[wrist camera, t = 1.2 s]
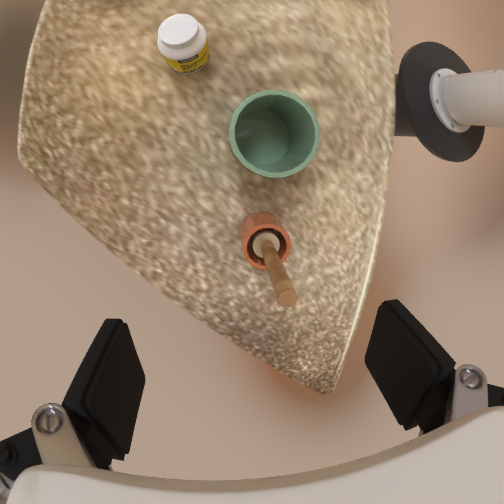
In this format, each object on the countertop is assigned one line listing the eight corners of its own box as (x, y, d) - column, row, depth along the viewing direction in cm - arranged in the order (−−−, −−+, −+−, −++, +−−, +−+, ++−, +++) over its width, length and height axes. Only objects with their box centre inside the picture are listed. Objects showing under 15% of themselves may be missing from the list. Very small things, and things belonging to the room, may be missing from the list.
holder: (274, 206, 36) (283, 217, 31) (285, 243, 38) (296, 260, 33) (234, 220, 36) (235, 233, 31) (248, 256, 38) (251, 275, 33)
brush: (268, 218, 36) (302, 275, 20) (275, 239, 37) (311, 307, 22) (246, 226, 36) (262, 289, 21) (253, 247, 37) (274, 321, 22)
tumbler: (280, 100, 31) (303, 81, 21) (300, 158, 34) (330, 163, 24) (219, 118, 31) (216, 105, 21) (240, 177, 34) (247, 189, 24)
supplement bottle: (185, 82, 29) (170, 60, 20) (160, 57, 27) (140, 31, 18) (218, 57, 28) (216, 28, 19) (193, 33, 26) (183, 0, 17)
